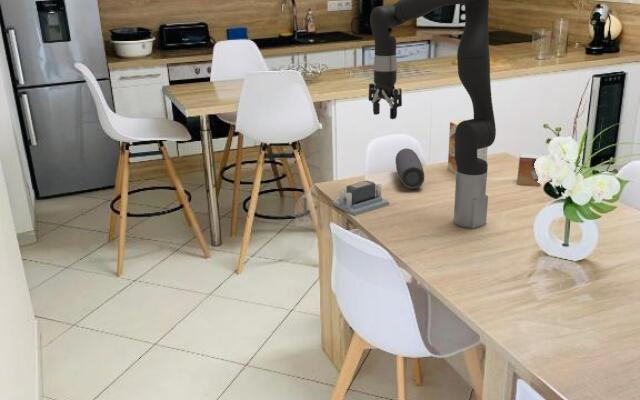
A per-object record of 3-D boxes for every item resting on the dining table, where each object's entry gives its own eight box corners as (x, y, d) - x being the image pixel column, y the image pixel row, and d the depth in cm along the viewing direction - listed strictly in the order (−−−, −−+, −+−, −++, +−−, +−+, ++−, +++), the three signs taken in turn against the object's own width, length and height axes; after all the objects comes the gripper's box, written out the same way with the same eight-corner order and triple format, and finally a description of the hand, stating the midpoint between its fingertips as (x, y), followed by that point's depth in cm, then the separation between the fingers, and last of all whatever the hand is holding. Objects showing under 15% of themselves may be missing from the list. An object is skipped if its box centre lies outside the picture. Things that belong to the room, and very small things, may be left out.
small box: (516, 184, 234) (519, 157, 230) (517, 179, 239) (519, 152, 235) (540, 186, 231) (542, 158, 228) (539, 181, 236) (542, 154, 233)
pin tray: (388, 204, 219) (389, 187, 216) (354, 215, 211) (354, 197, 208) (366, 195, 228) (366, 178, 225) (332, 205, 220) (332, 187, 217)
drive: (375, 200, 219) (375, 183, 217) (354, 206, 215) (354, 189, 212) (367, 196, 223) (367, 180, 221) (346, 202, 218) (346, 185, 216)
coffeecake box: (446, 170, 251) (449, 121, 244) (461, 167, 253) (464, 119, 246) (470, 181, 238) (473, 130, 231) (486, 178, 241) (489, 127, 234)
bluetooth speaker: (425, 191, 229) (426, 165, 226) (399, 192, 230) (400, 165, 226) (418, 171, 250) (418, 146, 247) (394, 171, 251) (394, 147, 247)
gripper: (408, 69, 209) (407, 118, 215) (379, 64, 220) (379, 111, 226) (391, 72, 205) (390, 122, 211) (362, 67, 216) (362, 114, 222)
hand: (384, 116), depth 218 cm, fingers open, 8 cm apart
